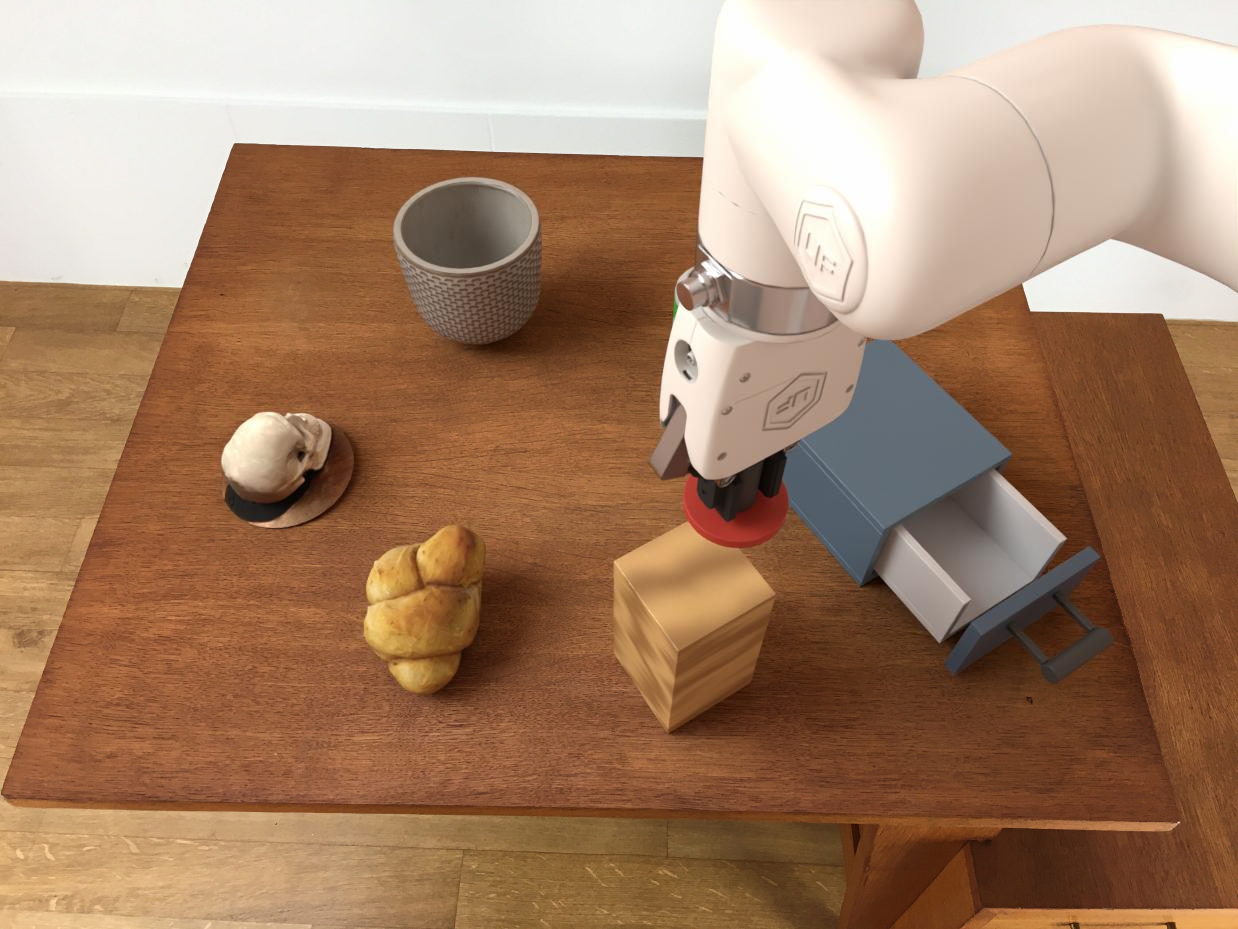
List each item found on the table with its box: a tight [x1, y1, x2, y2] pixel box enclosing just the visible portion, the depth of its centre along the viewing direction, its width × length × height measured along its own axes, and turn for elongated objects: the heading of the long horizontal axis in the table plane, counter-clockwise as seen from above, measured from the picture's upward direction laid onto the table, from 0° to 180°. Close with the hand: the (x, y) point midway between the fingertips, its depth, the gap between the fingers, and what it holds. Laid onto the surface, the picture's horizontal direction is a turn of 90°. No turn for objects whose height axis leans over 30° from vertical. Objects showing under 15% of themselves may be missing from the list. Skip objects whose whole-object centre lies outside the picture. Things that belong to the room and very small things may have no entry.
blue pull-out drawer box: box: [874, 469, 1115, 685], centre depth 78 cm, size 20×13×7 cm, turn 32°
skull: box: [220, 411, 355, 529], centre depth 88 cm, size 12×10×10 cm
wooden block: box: [613, 520, 777, 735], centre depth 72 cm, size 8×8×15 cm
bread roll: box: [362, 523, 487, 696], centre depth 77 cm, size 13×10×8 cm
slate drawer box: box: [782, 339, 1013, 587], centre depth 85 cm, size 16×14×9 cm
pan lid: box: [682, 459, 790, 549], centre depth 57 cm, size 6×6×5 cm
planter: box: [392, 176, 543, 346], centre depth 95 cm, size 14×14×13 cm
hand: (737, 490), depth 58 cm, fingers closed on pan lid, 2 cm apart
